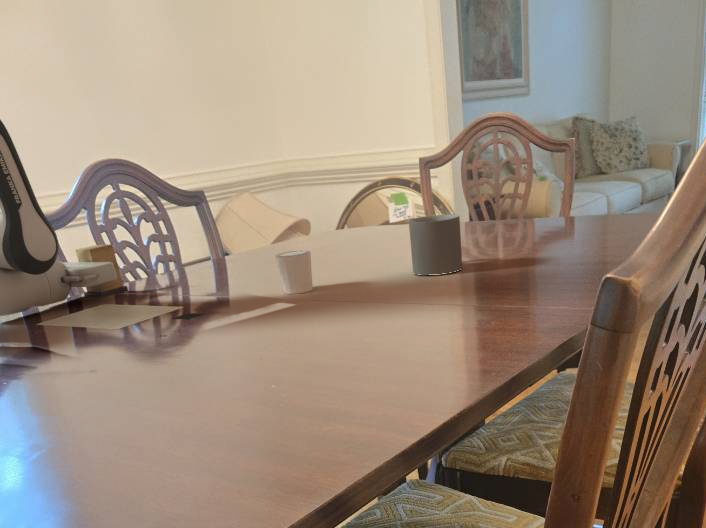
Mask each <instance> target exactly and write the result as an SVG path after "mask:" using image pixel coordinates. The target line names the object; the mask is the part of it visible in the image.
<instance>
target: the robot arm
mask: <svg viewBox="0 0 706 528" xmlns="http://www.w3.org/2000/svg"><path fill="white" fill-rule="evenodd" d="M58 256H59V239H58V235H57V232H56V230H55V228H54V227H53V225H52V223H51V222H50V220H49V219H48V217H47V216H46V215H45V213H44V212H43V210H42V208H41V206H40V205H39V202H38V199H37V197H36V194H35V192H34V189H33V187H32V184H31V183H30V180H29V178H28V175H27V173H26V170H25V167H24V166H23V163H22V160H21V158H20V156H19V153H18V151H17V147H16V146H15V144H14V141H13V139H12V137H11V135H10V133H9V131H8V129H7V127H6V126H5V124H4V123H3V121H2V120H1V119H0V317H6V316H11V315H16V314H20V313H23V312H27V311H29V310H30V309H31V308H33V307H40V308H41V307H45V306H48V305H53V304H56V303H60V302H63V301H65V300H67V298H68V297H69V295H70V292H71V290H72V288H86V287H90V286H96V285H100V284H105V283H109V282H113V281H115V280H116V279H117V275H116V271H115V268H114V264H113V263H112V262H79V261H66V262H65V261H64V262H63V261H60V260H58V259H57V258H58Z"/></svg>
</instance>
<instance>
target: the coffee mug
mask: <svg viewBox="0 0 706 528" xmlns="http://www.w3.org/2000/svg"><path fill="white" fill-rule="evenodd" d="M408 228H409V238H410V239H409V240H410V251H411V252H410V253H411V263H412V264H411V265H412V274H413V273H415V274H421V275H429V274H442V273H449V272H454V271H457V270H460V269H461V268H462V269H463V255H462V239H461V238H462V237H461V236H462V235H461V219H460V215H459V214H451V213H450V214H433V215H425V216H419V217H414V218H411V219H409V220H408Z"/></svg>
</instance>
